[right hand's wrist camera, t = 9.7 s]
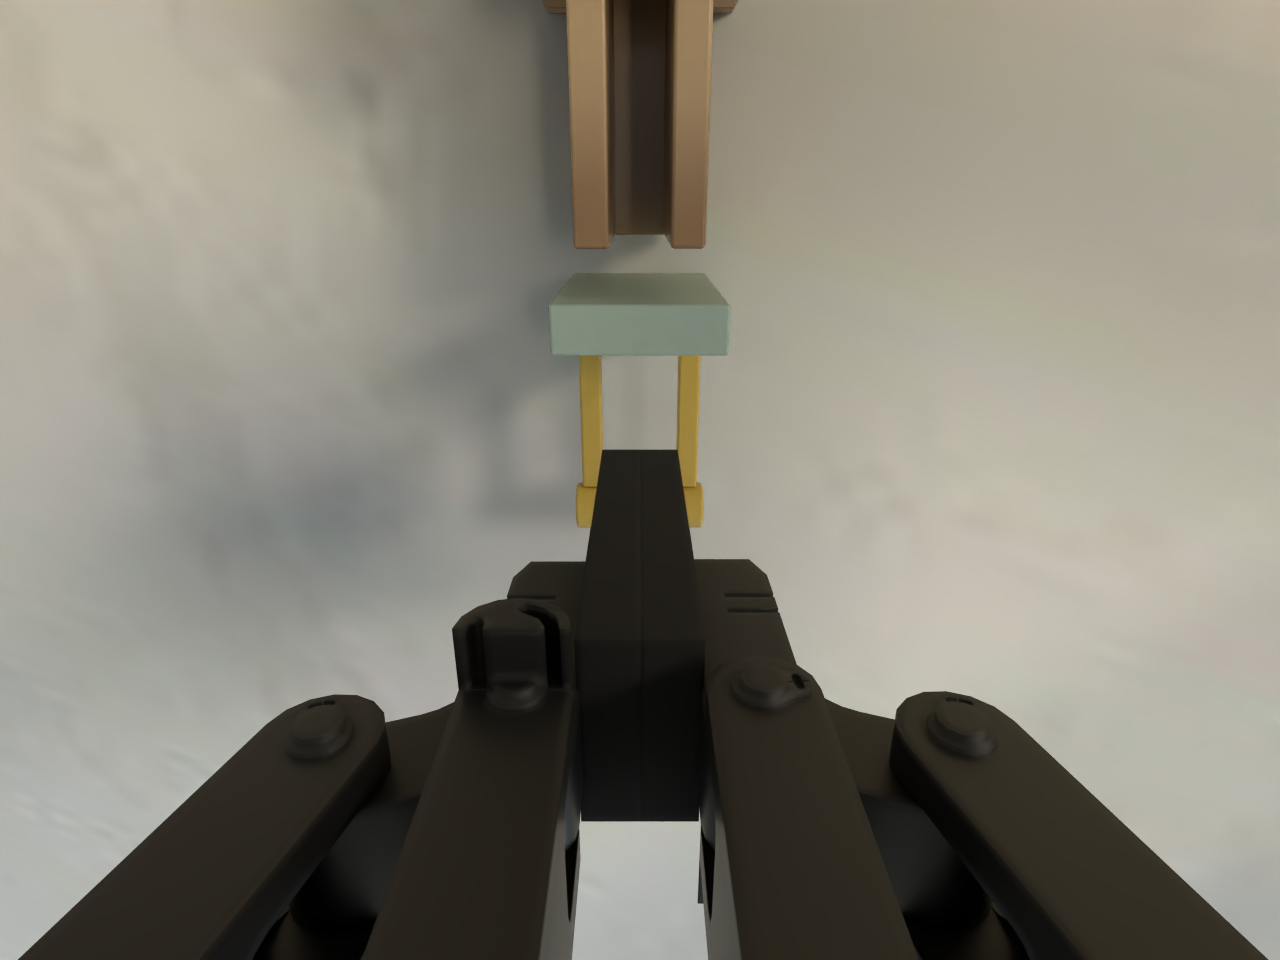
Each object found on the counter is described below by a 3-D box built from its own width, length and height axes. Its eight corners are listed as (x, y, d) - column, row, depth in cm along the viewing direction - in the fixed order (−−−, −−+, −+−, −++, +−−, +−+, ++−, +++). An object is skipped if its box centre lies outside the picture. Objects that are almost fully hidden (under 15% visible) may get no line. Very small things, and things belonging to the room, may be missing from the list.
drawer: (699, 481, 26) (718, 577, 19) (580, 481, 26) (560, 577, 19) (732, -533, 17) (791, -990, 10) (547, -533, 17) (488, -992, 10)
